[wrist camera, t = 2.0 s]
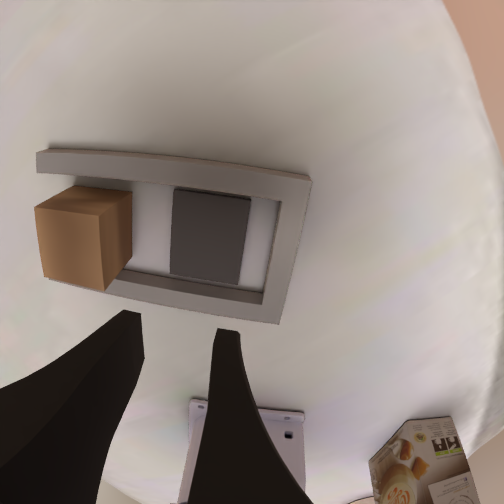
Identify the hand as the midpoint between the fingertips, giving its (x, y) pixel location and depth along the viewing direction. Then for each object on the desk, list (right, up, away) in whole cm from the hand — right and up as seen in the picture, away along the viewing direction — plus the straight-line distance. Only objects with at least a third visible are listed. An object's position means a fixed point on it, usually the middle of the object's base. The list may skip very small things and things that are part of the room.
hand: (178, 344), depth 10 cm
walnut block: (-6, +5, +8) cm, 11 cm away
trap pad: (0, +4, +8) cm, 8 cm away
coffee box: (+19, -17, +17) cm, 31 cm away
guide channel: (-3, +4, +7) cm, 9 cm away
